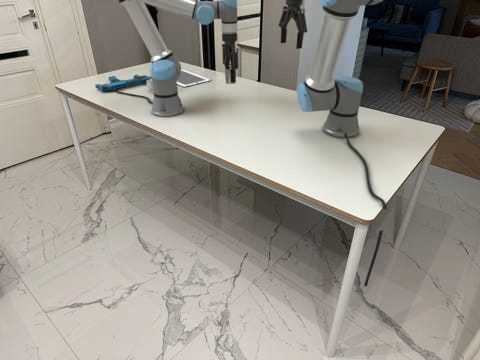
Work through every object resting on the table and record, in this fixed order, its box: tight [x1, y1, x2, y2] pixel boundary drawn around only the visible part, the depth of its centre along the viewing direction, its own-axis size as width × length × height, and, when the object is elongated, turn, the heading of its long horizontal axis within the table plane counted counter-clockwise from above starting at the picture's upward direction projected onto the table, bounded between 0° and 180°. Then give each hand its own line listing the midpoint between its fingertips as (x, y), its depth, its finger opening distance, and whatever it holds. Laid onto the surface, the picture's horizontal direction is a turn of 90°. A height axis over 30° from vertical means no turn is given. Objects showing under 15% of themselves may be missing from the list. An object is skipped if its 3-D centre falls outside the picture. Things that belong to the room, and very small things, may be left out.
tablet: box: [177, 69, 212, 88], centre depth 216 cm, size 32×20×1 cm, turn 41°
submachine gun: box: [94, 74, 151, 92], centre depth 206 cm, size 34×4×25 cm
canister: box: [224, 66, 237, 85], centre depth 174 cm, size 5×5×7 cm
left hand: (230, 80), depth 175 cm, fingers closed on canister, 5 cm apart
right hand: (290, 45), depth 161 cm, fingers open, 13 cm apart
